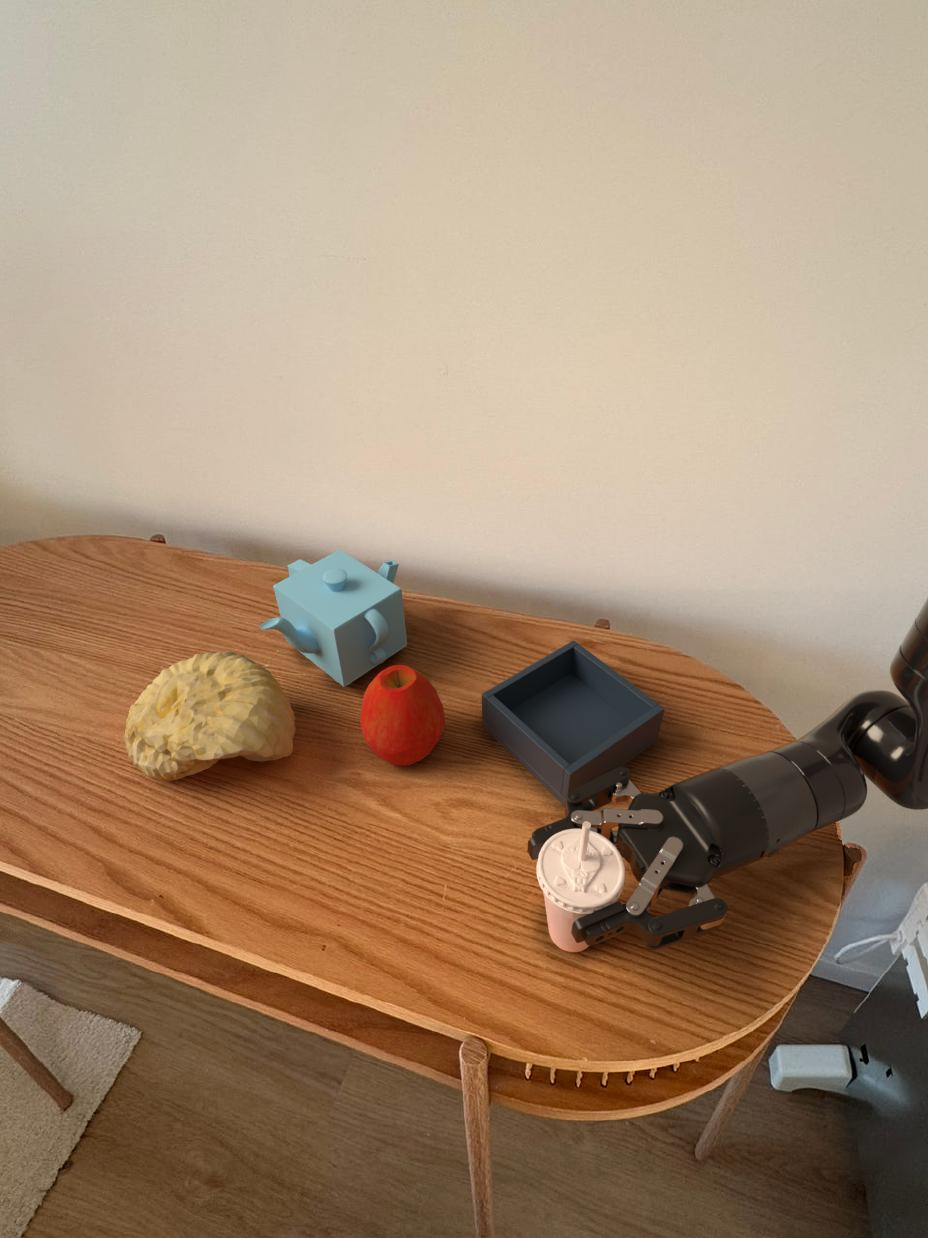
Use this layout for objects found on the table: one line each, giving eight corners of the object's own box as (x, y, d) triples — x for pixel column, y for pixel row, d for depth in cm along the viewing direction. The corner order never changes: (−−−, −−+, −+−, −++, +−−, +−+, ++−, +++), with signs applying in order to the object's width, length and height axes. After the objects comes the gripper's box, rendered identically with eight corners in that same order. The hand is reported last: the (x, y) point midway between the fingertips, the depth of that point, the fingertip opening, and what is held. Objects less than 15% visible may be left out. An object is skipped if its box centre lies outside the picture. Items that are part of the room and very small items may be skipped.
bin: (657, 741, 74) (665, 708, 70) (566, 808, 68) (570, 774, 65) (570, 672, 81) (573, 639, 78) (481, 726, 76) (481, 693, 72)
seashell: (246, 694, 83) (107, 739, 74) (245, 614, 77) (94, 653, 68) (322, 787, 73) (171, 853, 64) (327, 704, 67) (163, 763, 58)
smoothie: (612, 899, 61) (634, 799, 52) (610, 976, 56) (633, 881, 47) (536, 887, 62) (543, 787, 53) (527, 962, 57) (534, 867, 48)
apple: (463, 746, 74) (460, 671, 67) (401, 795, 69) (391, 720, 62) (409, 704, 78) (401, 629, 71) (348, 747, 74) (333, 672, 67)
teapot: (445, 646, 85) (441, 569, 77) (321, 733, 75) (302, 654, 68) (359, 588, 93) (348, 513, 86) (237, 660, 84) (213, 583, 76)
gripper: (692, 717, 60) (509, 784, 56) (818, 862, 50) (607, 958, 46) (676, 773, 65) (507, 838, 61) (788, 915, 55) (596, 1006, 51)
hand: (551, 889), depth 53 cm, fingers closed on smoothie, 6 cm apart
